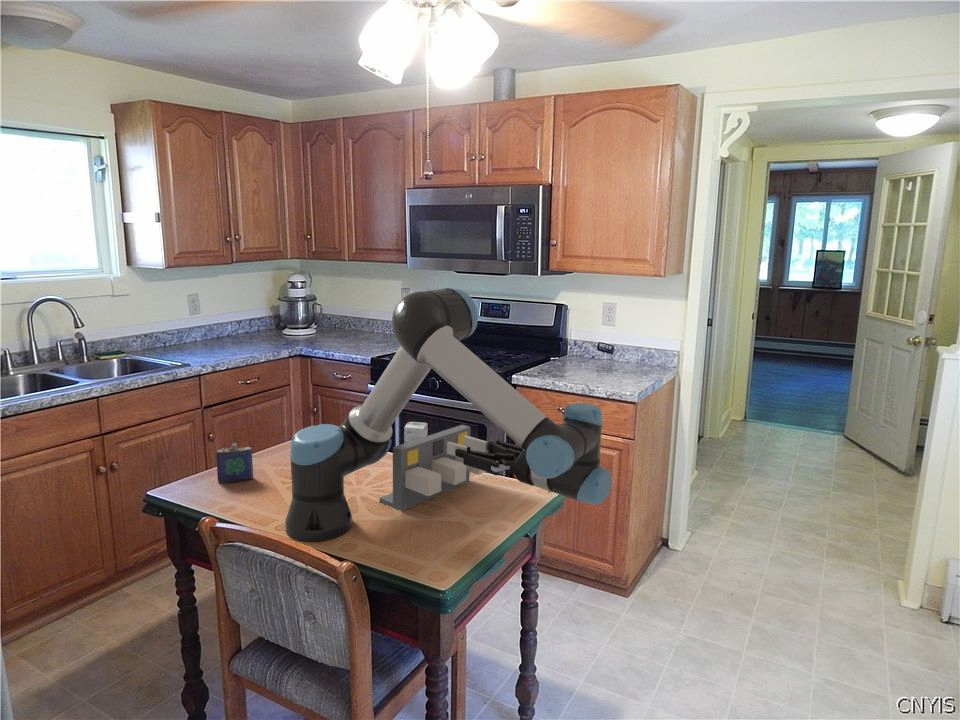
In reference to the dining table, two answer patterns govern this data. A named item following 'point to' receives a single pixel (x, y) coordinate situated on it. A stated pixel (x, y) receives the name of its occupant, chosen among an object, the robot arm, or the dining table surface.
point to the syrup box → (414, 431)
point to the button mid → (449, 470)
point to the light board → (421, 465)
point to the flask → (234, 464)
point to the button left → (422, 480)
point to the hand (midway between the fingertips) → (456, 444)
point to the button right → (470, 469)
